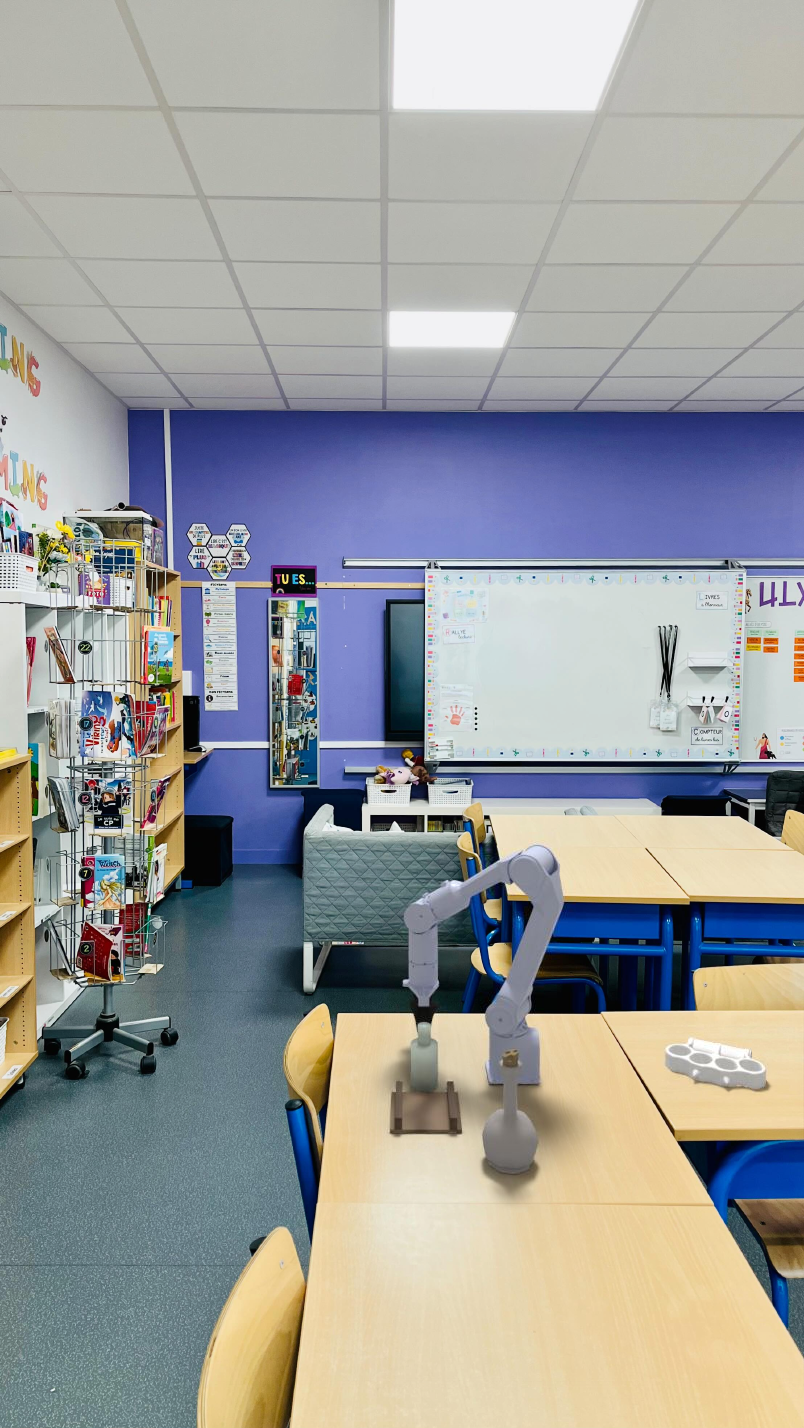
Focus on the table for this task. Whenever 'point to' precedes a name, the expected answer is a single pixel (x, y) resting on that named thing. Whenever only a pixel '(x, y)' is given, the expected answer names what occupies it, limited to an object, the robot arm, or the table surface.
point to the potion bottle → (510, 1125)
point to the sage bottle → (424, 1060)
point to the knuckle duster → (716, 1063)
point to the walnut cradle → (425, 1111)
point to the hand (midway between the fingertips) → (423, 1026)
